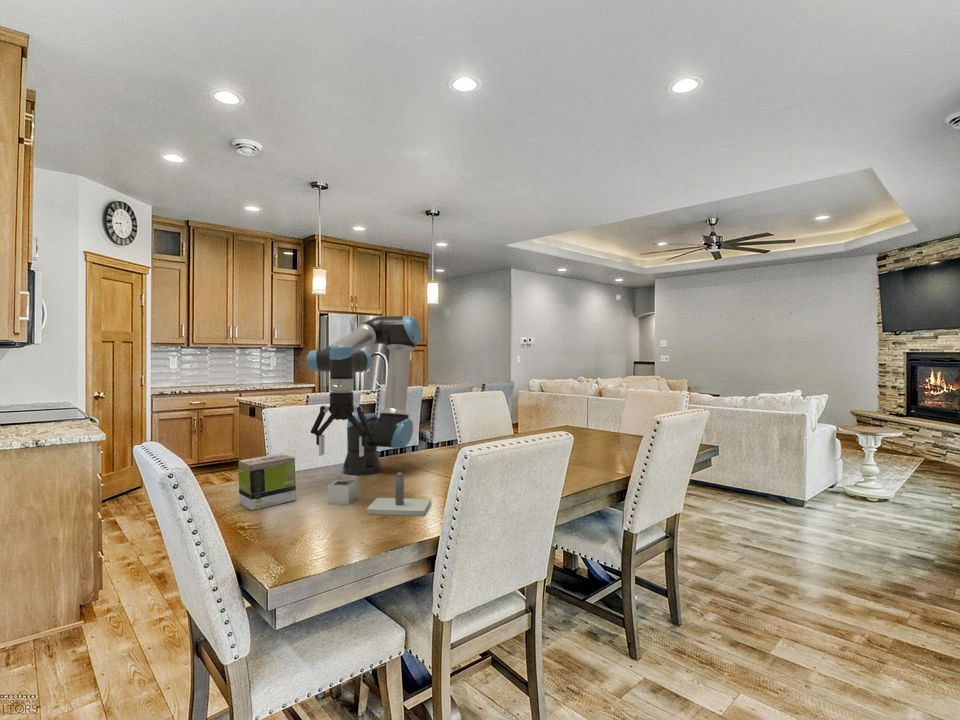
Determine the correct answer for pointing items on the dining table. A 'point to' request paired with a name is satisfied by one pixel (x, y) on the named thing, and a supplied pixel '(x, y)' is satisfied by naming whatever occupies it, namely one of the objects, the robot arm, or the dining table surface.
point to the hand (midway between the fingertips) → (341, 455)
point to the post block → (399, 502)
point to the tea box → (267, 481)
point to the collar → (341, 492)
